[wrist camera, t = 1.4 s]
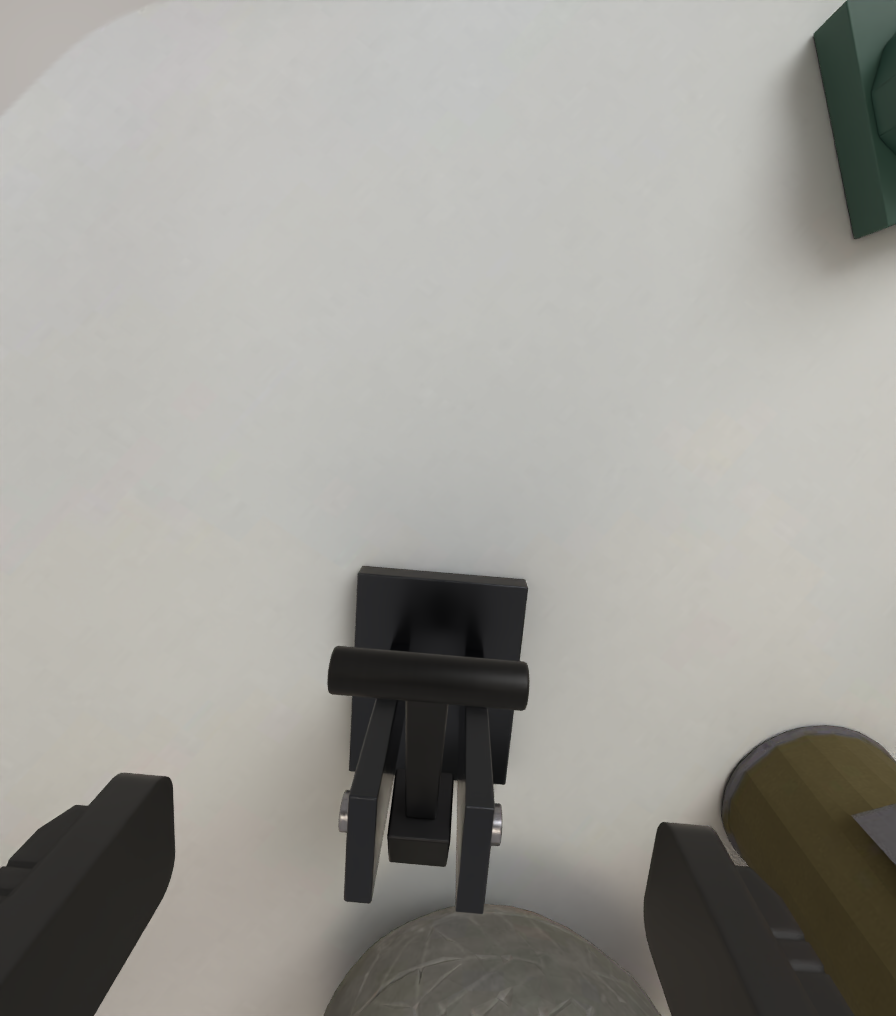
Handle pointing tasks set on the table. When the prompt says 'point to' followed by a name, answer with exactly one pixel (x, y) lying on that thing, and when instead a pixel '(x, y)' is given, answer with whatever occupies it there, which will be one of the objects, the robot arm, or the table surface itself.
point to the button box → (863, 106)
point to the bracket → (469, 730)
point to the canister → (826, 849)
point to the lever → (425, 730)
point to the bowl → (487, 971)
